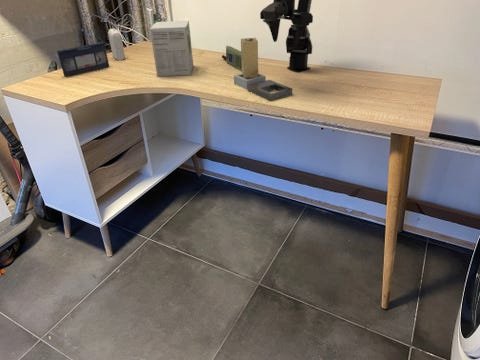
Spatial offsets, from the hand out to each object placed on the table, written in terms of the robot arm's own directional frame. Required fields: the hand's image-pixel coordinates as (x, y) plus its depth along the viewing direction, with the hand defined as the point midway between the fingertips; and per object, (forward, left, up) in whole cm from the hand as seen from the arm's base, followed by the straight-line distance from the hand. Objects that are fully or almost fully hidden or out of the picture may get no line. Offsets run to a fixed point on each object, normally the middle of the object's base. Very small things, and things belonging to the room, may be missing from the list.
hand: (284, 43), depth 127 cm
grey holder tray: (+11, +6, -13) cm, 18 cm away
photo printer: (+35, -74, -13) cm, 83 cm away
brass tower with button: (+11, -6, -10) cm, 16 cm away
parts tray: (+11, -6, -13) cm, 18 cm away
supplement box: (+24, -38, -13) cm, 47 cm away
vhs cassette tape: (+52, -62, -13) cm, 82 cm away
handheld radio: (+2, -28, -14) cm, 31 cm away
